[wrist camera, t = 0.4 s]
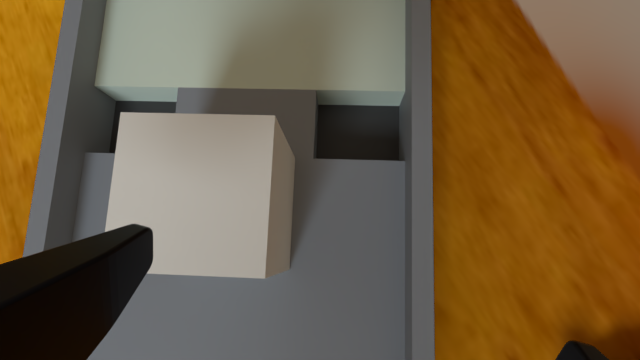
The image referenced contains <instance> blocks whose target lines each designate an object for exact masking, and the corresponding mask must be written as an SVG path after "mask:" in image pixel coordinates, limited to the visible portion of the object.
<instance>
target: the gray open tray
mask: <svg viewBox="0 0 640 360" xmlns="http://www.w3.org/2000/svg"><path fill="white" fill-rule="evenodd" d="M121 112H135V113H183V114H230V115H275V117H276V119H277V121H278V123H279V125H280V127H281V129H282V131H283V133H284V136H285V138H286V140H287V142H288V144H289V146H290V148H291V150H292V152H293V155H294V157H295V171H294V191H293V211H292V230H291V250H290V270H287V271H284V272H282V273H279V274H276V275H274V276H271V277H268V278H265V279H261V278H238V277H215V276H192V275H169V274H146V275H145V277H144V278H143V280H142V282H141V283H140V285H139V286H138V288H137V290H136V291H135V293H134V294H133V296H132V297H131V299H130V301H129V302H128V304H127V305H126V307H125V308H124V310H123V312H122V313H121V315H120V316H119V318H118V319H117V321H116V322H115V324H114V325H113V327H112V328H111V329H110V331H109V332H108V333H107V335H106V336H105V337H104V339H103V340H102V341H101V342H100V344H99V345H98V346H97V347H96V349H95V350H94V351H93V352H92V354H91V355H90V356H89V358H88V359H87V360H435V344H434V254H433V165H432V75H431V0H65V5H64V11H63V17H62V23H61V29H60V35H59V41H58V48H57V54H56V60H55V66H54V72H53V78H52V84H51V90H50V96H49V102H48V108H47V114H46V120H45V126H44V132H43V138H42V144H41V150H40V156H39V162H38V168H37V174H36V180H35V186H34V192H33V198H32V204H31V210H30V216H29V222H28V228H27V234H26V241H25V247H24V253H23V257H26V256H29V255H32V254H36V253H39V252H42V251H45V250H49V249H52V248H55V247H58V246H62V245H65V244H68V243H71V242H74V241H78V240H81V239H84V238H87V237H91V236H94V235H97V234H100V233H104V232H105V227H106V219H107V212H108V204H109V196H110V189H111V181H112V174H113V166H114V159H115V151H116V143H117V136H118V128H119V121H120V113H121Z"/></svg>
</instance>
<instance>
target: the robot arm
mask: <svg viewBox="0 0 640 360" xmlns="http://www.w3.org/2000/svg"><path fill="white" fill-rule="evenodd" d="M152 262H153V231H152V229H151V228H149V227H146V226H143V225H139V224H130V225H126V226H123V227H120V228H117V229H113V230H110V231H107V232H104V233H100V234H97V235H94V236H91V237H87V238H84V239H81V240H78V241H74V242H71V243H68V244H65V245H62V246H58V247H55V248H52V249H49V250H45V251H42V252H39V253H36V254H32V255H29V256H26V257H23V258H19V259H16V260H13V261H10V262H6V263H3V264H0V360H87V359H88V358H89V356H90V355H91V354H92V352H93V351H94V350H95V349H96V347H97V346H98V345H99V344H100V342H101V341H102V340H103V339H104V337H105V336H106V335H107V333H108V332H109V331H110V329H111V328H112V327H113V325H114V324H115V322H116V321H117V319H118V318H119V316H120V315H121V313H122V312H123V310H124V308H125V307H126V305H127V304H128V302H129V301H130V299H131V297H132V296H133V294H134V293H135V291H136V290H137V288H138V286H139V285H140V283H141V282H142V280H143V278H144V277H145V275H146V274H147V272H148V271H149V269H150V267H151V265H152ZM556 360H609V359H608V358H607V357H605V356H604V355H603V354H602V353H601V352H600V351H599V350H597V349H596V348H595V347H594V346H592V345H589V344H586V343H582V342H578V341H574V340H572V341H569V342H567V343H566V344H565V345H564V347H563V349H562V350H561V352H560V353H559V355H558V357H557V358H556Z"/></svg>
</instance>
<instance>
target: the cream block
mask: <svg viewBox="0 0 640 360" xmlns="http://www.w3.org/2000/svg"><path fill="white" fill-rule="evenodd" d="M294 171H295V157H294V155H293V152H292V150H291V148H290V146H289V144H288V142H287V140H286V138H285V136H284V133H283V131H282V129H281V127H280V125H279V123H278V121H277V119H276V117H275V115H230V114H183V113H135V112H121V113H120V121H119V128H118V136H117V143H116V151H115V159H114V166H113V174H112V181H111V189H110V196H109V204H108V212H107V219H106V227H105V232H107V231H110V230H113V229H117V228H120V227H123V226H126V225H130V224H139V225H143V226H146V227H149V228H151V229H152V231H153V262H152V265H151V267H150V269H149V271H148V272H147V274H169V275H192V276H215V277H238V278H261V279H265V278H268V277H271V276H274V275H276V274H279V273H282V272H284V271H287V270H290V250H291V230H292V211H293V191H294Z"/></svg>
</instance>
